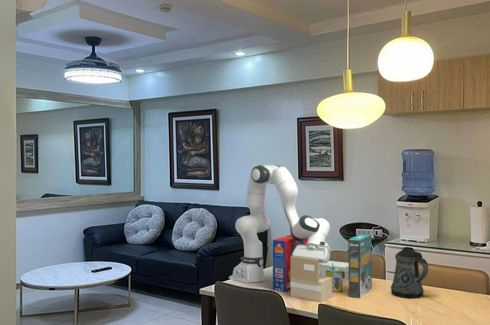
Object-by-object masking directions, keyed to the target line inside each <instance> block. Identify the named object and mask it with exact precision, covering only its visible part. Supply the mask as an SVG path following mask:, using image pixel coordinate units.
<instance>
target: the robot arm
mask: <svg viewBox="0 0 490 325" xmlns="http://www.w3.org/2000/svg"><path fill="white" fill-rule="evenodd" d="M268 184H270V185H271V184H273V185H274V186H275V188H276V191H277V192H278V195H279V197H280V200H281V203H282V207H283V210H284V211H283V212H284V214H285V217H286V219H287V221H288V225H289V228H290V229H289V230H290V235H291V236H292V237H293V238H294V239H295V240H296V241H300V242H302V241H305V240H306V239H307V238H308V241H307V244H300V245H297V246H296V248H295V250H294V252H293V254H292V256H294V257H301V258H309V259H317V260H319V264H321V263H327V262H328V261H330V258H331V252H332V250H331V247H330V246H329V244H328V242H326V240H327V239H328V236H329V233H330V230H331V225H330V223H329V221H328V220H326V219H325V218H323V217H320V218H316V217H315V218H314V217H312V216H310V215H302V216H301V217H299V215H298V212H297V210H296V202H297V198H298V195H299V189H298V185H297V183H296V181H295V179H294V177H293V176H292V174H291V173H290V171H289V170H288V168H287V167H284V166H280V165H277V164H262V165H261V164H259V165H256V166H254V167H253V168H252V169H251V172H250V176H249V179H248V183H247V189H246V198H245V205H246V207H247V208H249V212H250V215H244V216H243V215H242V216H241V217H238V218H237V219H236V221H235V224H234V225H235V230H236V232H237V233H238V234H239V235H240V237H241V238H242V239H241V240H242V242H243V250H244V252H243V253H244V255H242V257H240V260H241V262H240V263H238V265H236V266H235V267H234V268H233V271H232V275H230V276H228V279H230V280H234V281H237V282H240V283H244V284H245V283H260V282H265V281H266V278H265V277H266V276H265V273H264V256H263V243H262V241H261V240H259V236H258V233H262V232H265V231H267V230H268V229H269V228H270V227H271V219H270V217H269V216H268V214H267V213H266V207H265V201H266V200H265V199H266V187H267V185H268Z"/></svg>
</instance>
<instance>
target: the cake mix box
mask: <svg viewBox="0 0 490 325" xmlns="http://www.w3.org/2000/svg"><path fill="white" fill-rule="evenodd" d="M347 241H348V263H349V281H348V297H349V298H354V299H361V298H363V297H364V296H365V295H366V294H367V293H369V291H372V284H373V283H372V282H373V281H372V234H366V233H365V234H363V233H360V234H357V235H356V236H354V237H351V238H349V239H348V240H347Z"/></svg>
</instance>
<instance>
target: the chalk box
mask: <svg viewBox="0 0 490 325" xmlns="http://www.w3.org/2000/svg"><path fill="white" fill-rule="evenodd" d="M332 266H333V263H332ZM326 276H327V277H331V278H332V293H333V292H334V293H344V289H343V288H344V287H343V286H344V284H343V283H344V282H343V279H342V268H334V266H333V268H326Z"/></svg>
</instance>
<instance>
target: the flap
mask: <svg viewBox="0 0 490 325" xmlns="http://www.w3.org/2000/svg"><path fill="white" fill-rule="evenodd" d="M319 275H320V263H319V260H317V259H309V258H301V257H294V256H291V278H296V279H302V280H309V281H315V282H319Z"/></svg>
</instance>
